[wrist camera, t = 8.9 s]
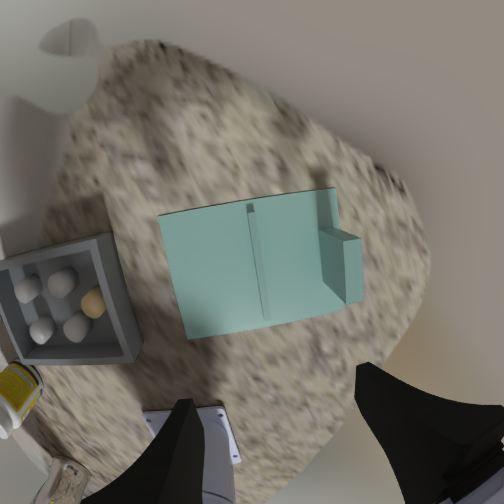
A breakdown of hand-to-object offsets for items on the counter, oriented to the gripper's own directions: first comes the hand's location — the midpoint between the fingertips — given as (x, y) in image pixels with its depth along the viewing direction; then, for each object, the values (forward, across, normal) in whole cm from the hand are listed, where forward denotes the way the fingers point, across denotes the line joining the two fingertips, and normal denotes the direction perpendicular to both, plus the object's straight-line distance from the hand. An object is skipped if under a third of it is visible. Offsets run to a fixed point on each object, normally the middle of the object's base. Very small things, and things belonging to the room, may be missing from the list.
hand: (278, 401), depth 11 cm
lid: (+11, -1, -3) cm, 11 cm away
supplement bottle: (+10, +25, +5) cm, 28 cm away
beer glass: (+10, +29, +22) cm, 38 cm away
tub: (+10, +15, -3) cm, 19 cm away
